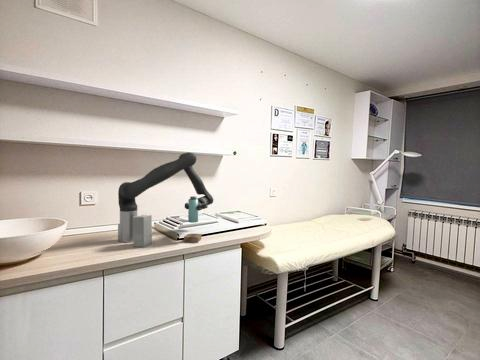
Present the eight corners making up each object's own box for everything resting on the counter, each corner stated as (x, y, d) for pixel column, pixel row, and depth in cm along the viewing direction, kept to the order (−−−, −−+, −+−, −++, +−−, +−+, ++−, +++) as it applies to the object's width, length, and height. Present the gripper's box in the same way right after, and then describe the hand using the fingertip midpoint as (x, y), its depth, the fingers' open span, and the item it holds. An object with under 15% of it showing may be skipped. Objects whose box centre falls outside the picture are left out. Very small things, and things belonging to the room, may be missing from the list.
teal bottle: (187, 222, 144) (187, 197, 143) (189, 220, 149) (190, 196, 148) (196, 222, 143) (196, 197, 142) (199, 220, 149) (199, 196, 148)
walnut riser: (183, 242, 143) (184, 236, 143) (188, 238, 151) (188, 233, 151) (197, 242, 142) (197, 237, 142) (201, 238, 150) (201, 233, 150)
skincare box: (144, 247, 131) (144, 217, 130) (131, 246, 132) (132, 216, 132) (152, 243, 139) (153, 214, 139) (141, 242, 140) (141, 214, 140)
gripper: (188, 197, 160) (179, 200, 144) (210, 198, 159) (204, 201, 142) (188, 209, 161) (179, 213, 144) (210, 210, 159) (204, 214, 143)
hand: (192, 207), depth 143 cm, fingers closed on teal bottle, 5 cm apart
